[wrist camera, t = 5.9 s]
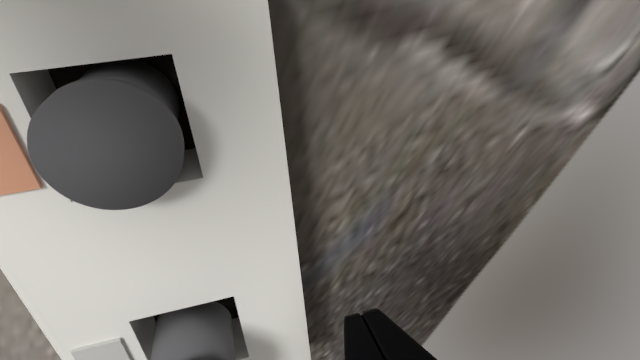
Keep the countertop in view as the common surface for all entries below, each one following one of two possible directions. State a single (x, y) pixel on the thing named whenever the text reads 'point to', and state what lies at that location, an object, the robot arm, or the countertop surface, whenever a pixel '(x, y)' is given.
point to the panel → (170, 209)
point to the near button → (110, 136)
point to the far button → (194, 334)
